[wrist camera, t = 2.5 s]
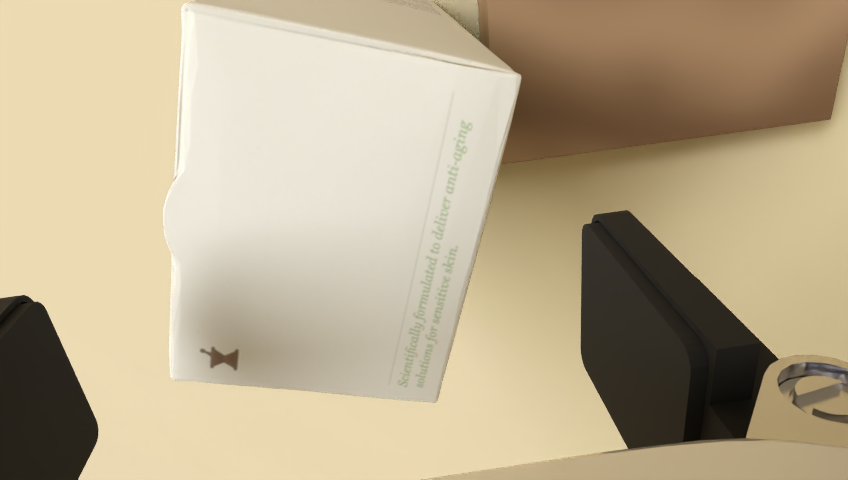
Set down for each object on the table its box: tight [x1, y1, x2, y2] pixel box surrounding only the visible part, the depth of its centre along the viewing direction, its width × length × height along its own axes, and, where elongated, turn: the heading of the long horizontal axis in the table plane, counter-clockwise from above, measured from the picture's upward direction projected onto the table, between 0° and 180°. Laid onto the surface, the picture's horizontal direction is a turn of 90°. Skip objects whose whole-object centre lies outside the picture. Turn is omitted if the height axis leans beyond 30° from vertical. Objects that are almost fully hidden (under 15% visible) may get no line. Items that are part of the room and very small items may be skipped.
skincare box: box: [163, 0, 522, 403], centre depth 19 cm, size 8×7×16 cm
